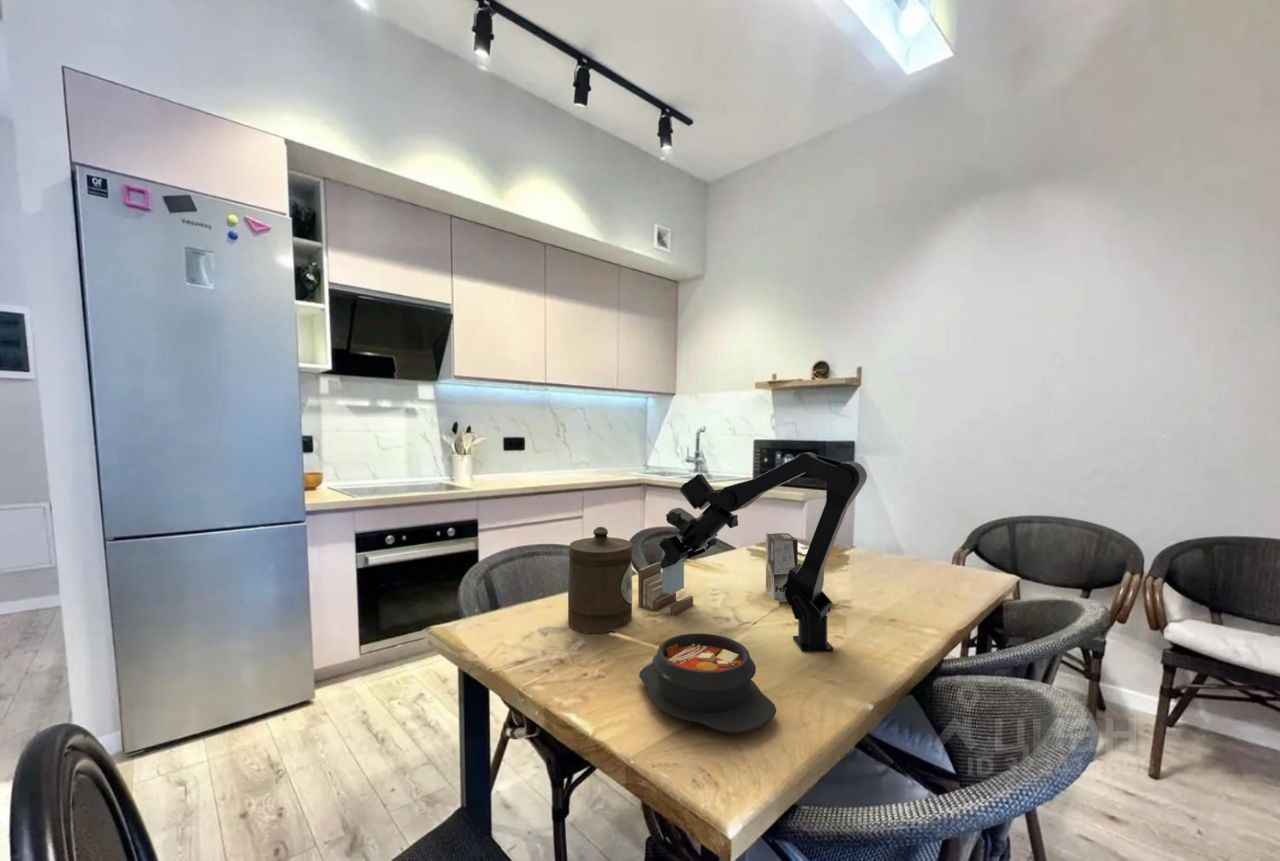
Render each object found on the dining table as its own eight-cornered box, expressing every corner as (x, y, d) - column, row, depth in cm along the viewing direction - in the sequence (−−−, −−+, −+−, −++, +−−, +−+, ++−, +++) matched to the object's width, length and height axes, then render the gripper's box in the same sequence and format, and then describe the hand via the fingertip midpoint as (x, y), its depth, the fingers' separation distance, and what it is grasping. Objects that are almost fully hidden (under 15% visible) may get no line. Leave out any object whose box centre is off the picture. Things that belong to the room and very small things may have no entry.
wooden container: (641, 628, 114) (641, 530, 113) (577, 639, 108) (577, 536, 108) (619, 606, 127) (619, 519, 127) (561, 614, 122) (561, 523, 122)
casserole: (614, 687, 88) (614, 639, 88) (693, 658, 99) (693, 615, 99) (718, 764, 68) (718, 702, 68) (802, 716, 79) (802, 663, 79)
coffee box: (798, 602, 130) (798, 540, 130) (773, 602, 130) (773, 539, 130) (788, 591, 139) (789, 532, 139) (765, 590, 140) (765, 532, 139)
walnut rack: (694, 607, 126) (694, 568, 126) (675, 619, 119) (675, 577, 119) (658, 599, 133) (658, 561, 133) (638, 609, 126) (638, 569, 126)
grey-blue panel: (683, 587, 127) (683, 542, 126) (671, 594, 122) (671, 546, 122) (675, 586, 128) (675, 540, 128) (662, 592, 123) (662, 545, 123)
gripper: (705, 494, 130) (669, 531, 136) (666, 503, 115) (627, 545, 121) (733, 528, 125) (694, 565, 132) (696, 542, 110) (654, 583, 117)
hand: (668, 563), depth 126 cm, fingers closed on grey-blue panel, 6 cm apart
